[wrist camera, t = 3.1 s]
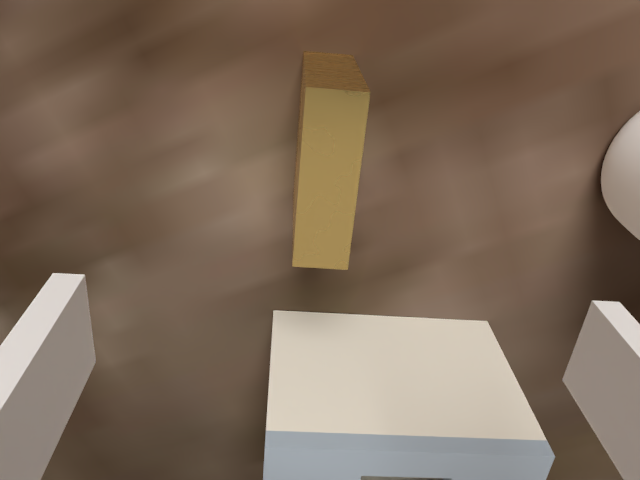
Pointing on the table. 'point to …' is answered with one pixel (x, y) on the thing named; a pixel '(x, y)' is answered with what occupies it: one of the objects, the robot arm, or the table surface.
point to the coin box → (395, 402)
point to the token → (328, 159)
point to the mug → (624, 176)
